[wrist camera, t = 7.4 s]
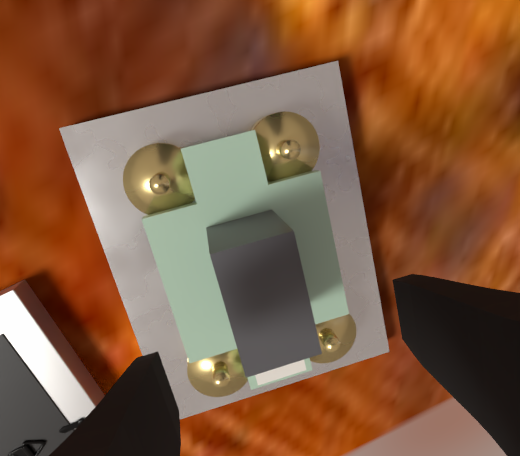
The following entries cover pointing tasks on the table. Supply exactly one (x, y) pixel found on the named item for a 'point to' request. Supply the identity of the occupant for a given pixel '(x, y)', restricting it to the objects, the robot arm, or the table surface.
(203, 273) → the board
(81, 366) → the picture frame
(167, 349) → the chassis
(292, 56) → the table surface
